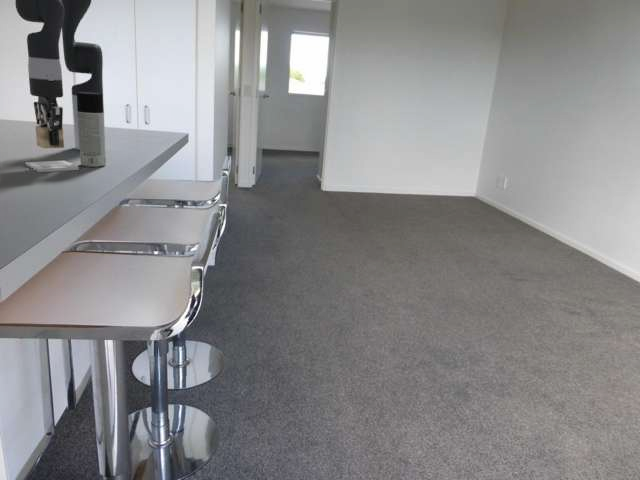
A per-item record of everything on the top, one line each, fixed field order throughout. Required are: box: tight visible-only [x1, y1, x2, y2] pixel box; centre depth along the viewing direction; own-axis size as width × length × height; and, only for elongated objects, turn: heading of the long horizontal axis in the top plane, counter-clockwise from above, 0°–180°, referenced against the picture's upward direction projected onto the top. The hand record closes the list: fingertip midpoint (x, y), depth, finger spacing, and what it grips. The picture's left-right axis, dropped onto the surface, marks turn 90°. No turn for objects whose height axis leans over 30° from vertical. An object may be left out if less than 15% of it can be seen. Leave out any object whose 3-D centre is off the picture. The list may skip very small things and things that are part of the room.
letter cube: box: [35, 125, 65, 149], centre depth 133 cm, size 5×5×5 cm
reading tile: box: [25, 160, 80, 173], centre depth 135 cm, size 10×10×1 cm
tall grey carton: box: [77, 92, 107, 168], centre depth 140 cm, size 7×7×20 cm
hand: (50, 143), depth 134 cm, fingers closed on letter cube, 5 cm apart
